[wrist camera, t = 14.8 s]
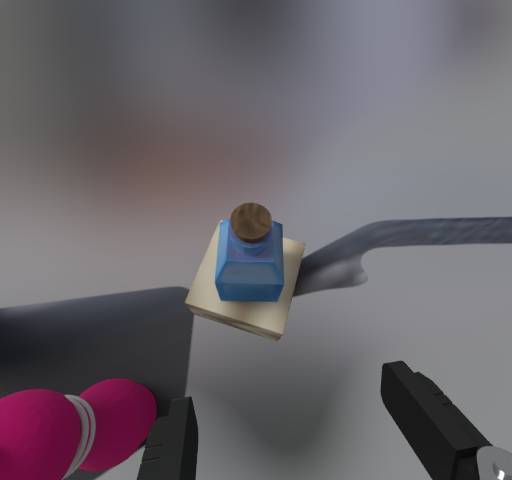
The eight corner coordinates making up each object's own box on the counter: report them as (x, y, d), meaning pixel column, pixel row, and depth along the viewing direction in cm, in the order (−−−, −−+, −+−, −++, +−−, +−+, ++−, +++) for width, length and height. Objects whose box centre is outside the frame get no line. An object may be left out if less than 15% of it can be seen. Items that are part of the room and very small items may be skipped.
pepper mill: (170, 383, 31) (65, 391, 13) (149, 463, 28) (-26, 612, 10) (108, 373, 32) (-73, 365, 14) (81, 450, 28) (-205, 572, 10)
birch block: (194, 314, 35) (184, 302, 30) (223, 240, 40) (220, 219, 35) (277, 341, 34) (282, 334, 29) (297, 262, 39) (305, 243, 33)
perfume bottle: (224, 249, 33) (213, 185, 22) (276, 250, 33) (290, 188, 22) (220, 300, 30) (205, 256, 19) (277, 301, 30) (293, 259, 19)
